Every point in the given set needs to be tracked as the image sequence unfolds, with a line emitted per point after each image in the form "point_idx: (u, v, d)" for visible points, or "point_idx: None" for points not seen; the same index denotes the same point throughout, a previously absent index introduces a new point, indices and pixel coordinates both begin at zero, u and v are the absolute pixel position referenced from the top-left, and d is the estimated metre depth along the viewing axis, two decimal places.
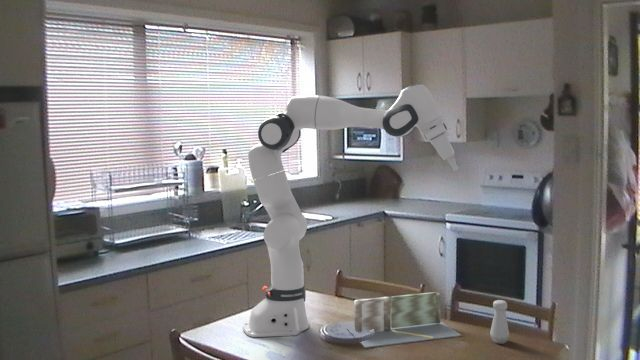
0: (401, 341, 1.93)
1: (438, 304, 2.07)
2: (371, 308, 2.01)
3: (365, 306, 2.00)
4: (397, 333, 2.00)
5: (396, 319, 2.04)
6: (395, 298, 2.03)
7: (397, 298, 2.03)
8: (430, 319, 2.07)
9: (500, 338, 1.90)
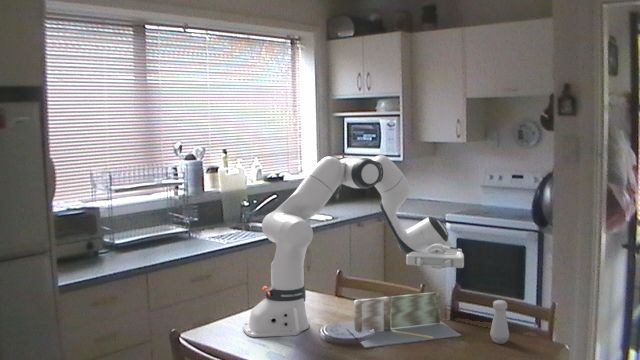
0: (401, 341, 1.93)
1: (438, 304, 2.07)
2: (371, 308, 2.01)
3: (365, 306, 2.00)
4: (397, 333, 2.00)
5: (396, 319, 2.04)
6: (395, 298, 2.03)
7: (397, 298, 2.03)
8: (430, 319, 2.07)
9: (500, 338, 1.90)
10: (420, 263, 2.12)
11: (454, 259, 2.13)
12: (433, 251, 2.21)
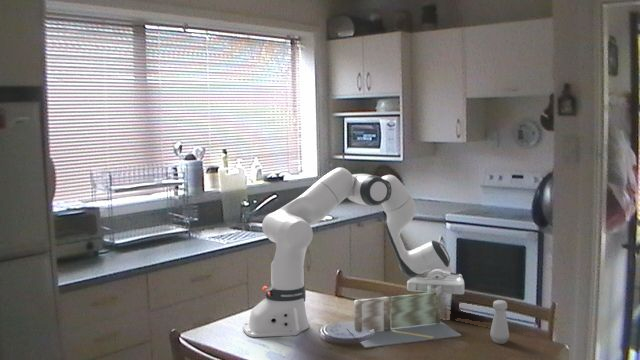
0: (401, 341, 1.93)
1: (438, 304, 2.07)
2: (371, 308, 2.01)
3: (365, 306, 2.00)
4: (397, 333, 2.00)
5: (396, 319, 2.04)
6: (395, 298, 2.03)
7: (397, 298, 2.03)
8: (430, 319, 2.07)
9: (500, 338, 1.90)
10: (430, 291, 2.12)
11: (454, 286, 2.14)
12: (433, 277, 2.22)
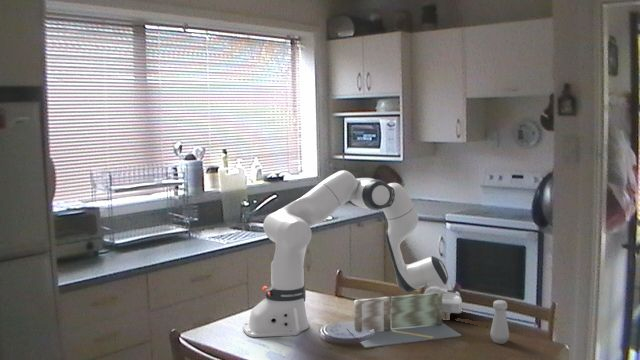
0: (401, 341, 1.93)
1: (439, 305, 2.06)
2: (371, 308, 2.01)
3: (365, 306, 2.00)
4: (397, 333, 2.00)
5: (396, 320, 2.04)
6: (395, 298, 2.03)
7: (397, 298, 2.03)
8: (431, 320, 2.06)
9: (500, 338, 1.90)
10: None
11: (452, 304, 2.10)
12: None
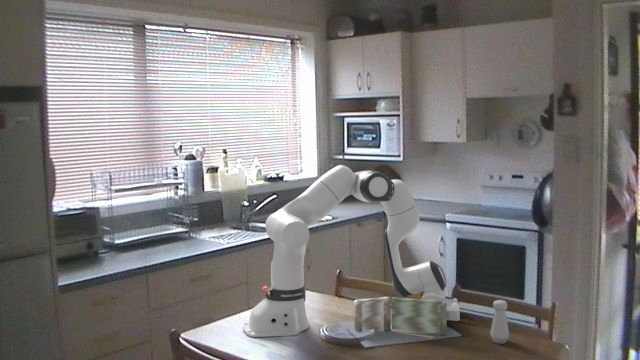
0: (401, 341, 1.93)
1: (442, 314, 1.96)
2: (371, 308, 2.01)
3: (365, 306, 2.00)
4: (397, 333, 2.00)
5: (395, 321, 2.02)
6: (394, 300, 2.01)
7: (397, 300, 2.01)
8: (434, 328, 1.98)
9: (500, 338, 1.90)
10: None
11: (449, 312, 2.02)
12: None
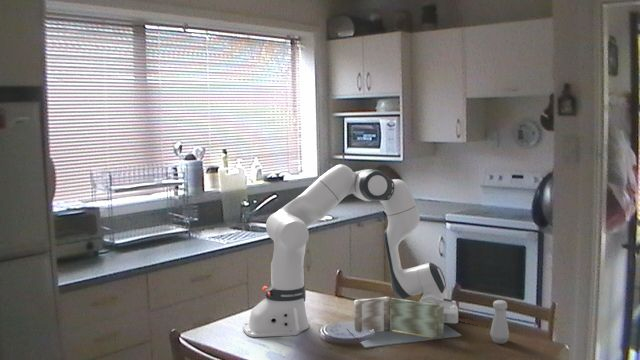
0: (401, 341, 1.93)
1: (438, 318, 1.93)
2: (371, 308, 2.01)
3: (365, 306, 2.00)
4: (397, 333, 2.00)
5: (394, 322, 2.01)
6: (393, 300, 2.01)
7: (396, 301, 2.00)
8: (431, 332, 1.95)
9: (500, 338, 1.90)
10: None
11: (448, 314, 2.00)
12: None
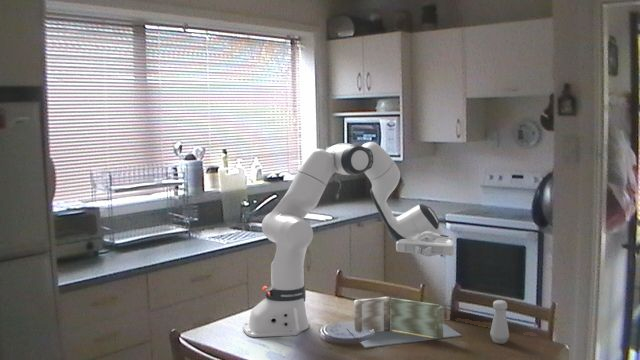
0: (401, 341, 1.93)
1: (438, 318, 1.93)
2: (371, 308, 2.01)
3: (365, 306, 2.00)
4: (397, 333, 2.00)
5: (394, 322, 2.01)
6: (393, 300, 2.01)
7: (396, 301, 2.00)
8: (431, 332, 1.95)
9: (500, 338, 1.90)
10: (418, 251, 2.10)
11: (444, 247, 2.12)
12: (423, 238, 2.20)
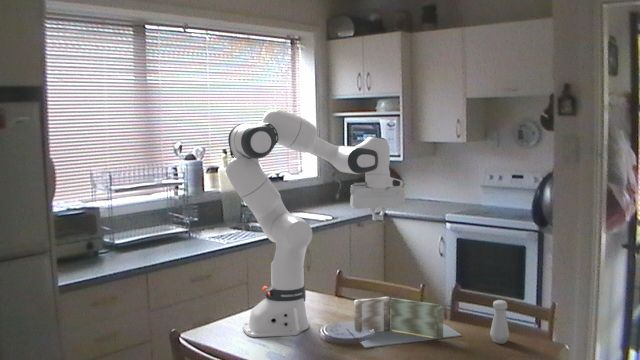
0: (401, 341, 1.93)
1: (438, 318, 1.93)
2: (371, 308, 2.01)
3: (365, 306, 2.00)
4: (397, 333, 2.00)
5: (394, 322, 2.01)
6: (393, 300, 2.01)
7: (396, 301, 2.00)
8: (431, 332, 1.95)
9: (500, 338, 1.90)
10: None
11: None
12: (377, 191, 2.17)
